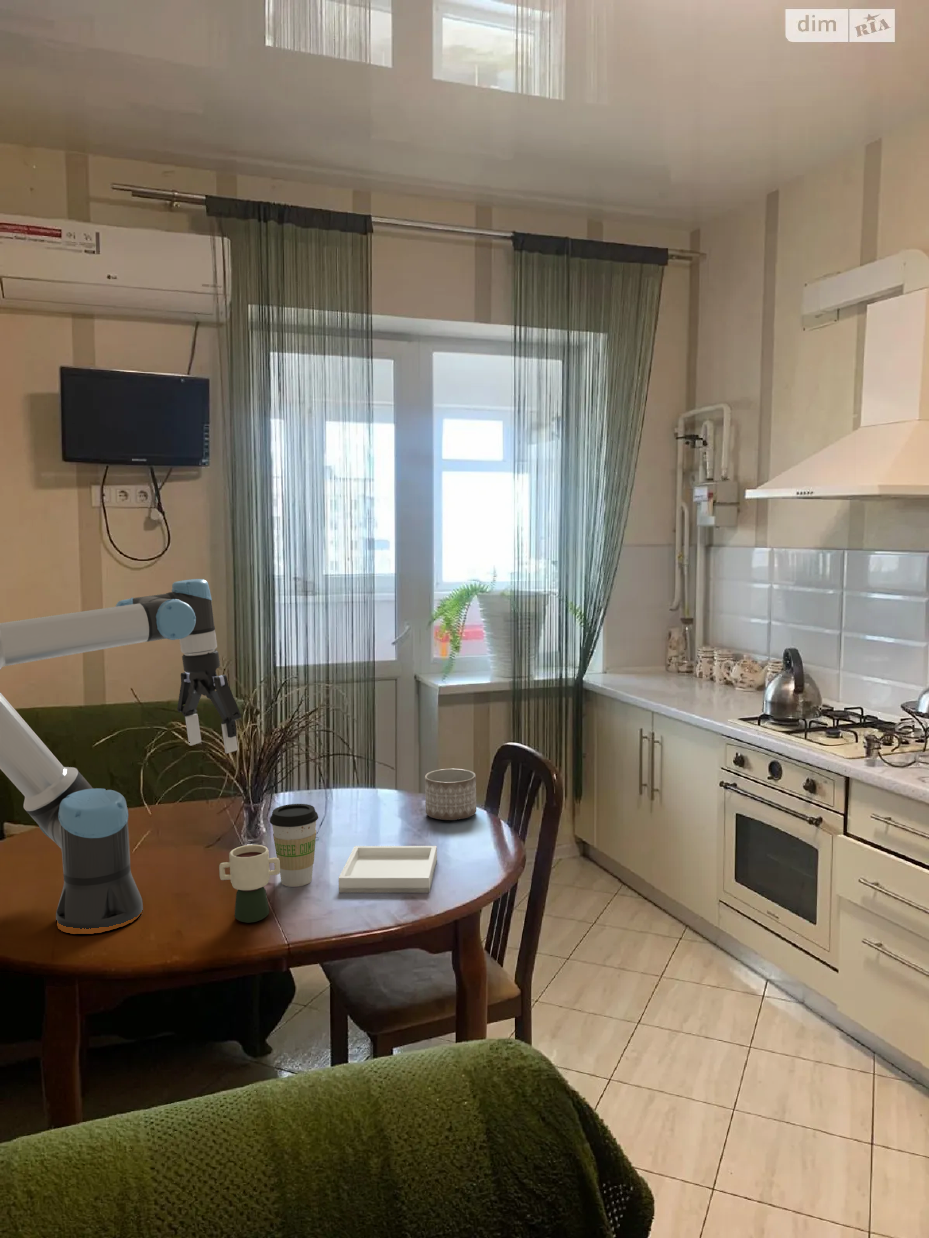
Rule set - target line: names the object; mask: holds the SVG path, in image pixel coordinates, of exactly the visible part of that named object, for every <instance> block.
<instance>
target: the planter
mask: <svg viewBox="0 0 929 1238" xmlns="http://www.w3.org/2000/svg"><path fill="white" fill-rule="evenodd" d="M476 775H477V774H476V773H475V772H474V771H472V770H469V769H464V768H443V769H442V768H441V769H436V770H432V771H429V772H427V773H426V774H425V776H424V789H425V790H424V792H425V814H426V815H427V816H429V818H433V819H436V820H444V821H456V820H457V819H458V820H461V819H467V818H471V817H473V816H474V815H475V814H476V813H477V785H476V784H477V777H476Z"/></svg>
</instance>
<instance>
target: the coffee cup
mask: <svg viewBox="0 0 929 1238" xmlns="http://www.w3.org/2000/svg"><path fill="white" fill-rule="evenodd" d="M318 820H319V814H318V812H317V811H316V808H315V807H314V806H313V805H311V804H308V803H289V804H284V805H281V806H277V807H276V808H274V809H273V810H272V814H271V815H270V817H269V823H270V824H271V826H272V832H273V834H272V836H273V842H274V849H275V854H276V855H275V856H276V858H279V860H280V873H279V874H280V875H279V876H280V880H281V882H280V883H281V885H283V886H285V887H290V888H291V887H293V888H294V887H295V888H296V887H303V886H306V885H308V884H310V883H311V882H312V880H313V870H314V869H313V867H314V866H313V865H314V864H315V852H316V851H315V850H316V841H317V840H316V837H317V830H316V829H317V828H316V826H317V821H318Z"/></svg>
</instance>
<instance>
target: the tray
mask: <svg viewBox="0 0 929 1238" xmlns="http://www.w3.org/2000/svg"><path fill="white" fill-rule="evenodd" d="M437 860H438V847H437V845H354V846H353V848H352V850H351V853H350V854H349V856H348V858H347V861H346V862H345V865H344V866H343V868H342V870H341V872H340V874H339V875H338V893H339V894H340V893H342V894H343V893H346V894H347V893H348V894H349V893H352V894H353V893H359V894H360V893H361V894H362V893H363V894H365V893H369V894H370V893H373V894H374V893H375V894H377V893H379V894H380V893H381V894H382V893H386V894H388V893H391V894H392V893H396V894H397V893H399V894H401V893H402V894H403V893H405V894H407V893H408V894H411V893H413V894H414V893H419V894H422V893H424V894H425V893H427V894H428V893H430V891H431V887H432V883H433V878H434V874H435V869H436V866H437Z"/></svg>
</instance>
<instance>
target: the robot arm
mask: <svg viewBox="0 0 929 1238" xmlns="http://www.w3.org/2000/svg"><path fill="white" fill-rule="evenodd" d="M171 586H172V587H171V591H169V592H166V593H161V594H152V595H146V596H138V597H130V598H126V599H121V600H118V601H117V603H116V605H115V606H112V607H104V608H98V609H90V610H84V611H76V612H70V613H62V614H55V615H49V616H48V615H47V616H43V617H42V616H41V617H34V618H33V617H32V618H27V619H21V620H13V621H5V622H0V670H1V669H2V668H3V667H8V666H13V665H18V664H19V665H20V664H25V663H31V662H37V661H43V660H48V659H54V658H59V657H66V656H71V655H77V654H82V653H89V652H94V651H100V650H106V649H111V648H117V647H123V646H130V645H135V644H140V643H141V644H142V643H147V642H154V641H161V640H171V641H175V640H179V645H180V652H181V653H182V654H183V655H182V656H181V659H182V666H183V670H184V671H183V672H181V673H180V689H179V695H178V702H177V707H176V709H177V712H178V713H182V716H183V717H184V721H185V727H186V732H187V739H188V745H189V746H194V745H196V744H197V745H198V744H200V743H202V736H201V727H200V722H199V721H200V719H199V716H198V715H199V714H198V713H197V712H198V710H197V707H198V705H199V702H200V700H201V697H202V695H203V696H205V697H206V698H207V699H209V700H210V701H211V703H212V704H213V706H214V708H215V709H216V711H217V712H218V715H219V716H220V718H221V719H222V721H221V722H220V723H221V732H222V738H223V739H222V740H223V746H224V753H225V754H230V753H233V752H236V751H238V750H239V747H238V740H237V739H238V737H237V727H236V726H237V725H236V721H238V720H239V719H241V718H242V714H241V712H240V710H239V707H238V704H237V702H236V700H235V697H234V695H233V693H232V691H231V688H230V685H229V682H228V677H227V674H221V675H218V674H217V670H218V669H219V668H220V667H221V663H220V662H221V661H220V654H219V651H218V650H217V648H218V641H217V634H216V628H215V619H214V610H213V599H212V598H213V597H212V594H211V589H210V585H209V582H208V581H207V580H206V579H204V578H192V579H182V580H179V581H174V582H173V583H172V585H171ZM189 742H190V743H189ZM0 771H1V772H3V774H4V775H5V776H6V777H7V778H8V780H9V781H11V783H12V784H13V785H14V787H16V789H17V790H18V791H19V792H21V794H22V795H23V796H24V801H23V809H24V810H25V811H26V813H27V814H29V816H30V817H31V818H32V820H34V822H36V824H37V825H38V826H39V829H40V830H41V831H42V833H43V834H44V835H45V836H46V837H48V839H51V840H52V841H53V842H54V843H55V844H56V845H57V846H58V848H60V851H61V859H62V870H63V871H62V872H63V874H62V875H63V887H62V890H61V895H60V898H59V901H58V904H57V909H56V912H55V921H56V920H57V921H58V923H59V924H61V925H63V926H66V927H73V928H80V929H82V928H84V929H85V928H86V929H89V928H90V929H91V928H99V927H109V926H113V925H116V924H121V923H124V922H126V921H128V920H131V919H133V918H134V917H137V916H138V915H139V914H140V913H141V912H142V910H143V911H144V905H143V898H142V896H141V893H140V891H139V889H138V886H137V883H136V881H135V878H134V877H133V874H132V870H131V869H132V868H131V851H130V833H129V809H128V807H127V806H128V805H127V801H126V798H125V797H124V796H123V794H121V793H120V792H119V791H117V790H112V789H107V790H106V788H97V787H96V788H94V787H92V785H91V784H90V783H89V782H88V781H87V779H86V778H85V777H84V776H83V774H81V772H79V770H78V768H77V767H73V766H72V767H71V766H70V767H69V766H64V765H63V764H62V763H61V762H60V761H59V760H58V758H57V757H56V756H55V755H54V754H53V753H52V751H51V750H50V749H49V747H48V746H47V745H46V744H45V743H44V742H43V741H42V740H41V738H40V737H39V736H38V735H37V734H36V733H35V731H34V730H33V729H32V728H31V726H29V724H28V722H26V721H25V720H24V718H22V716H21V715H20V714H19V712H18V711H17V710H16V709H15V708H14V706H12V704H11V703H10V702H9V700H8V699H6V697H5V696H4V695H3V694H2V692H0Z"/></svg>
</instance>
